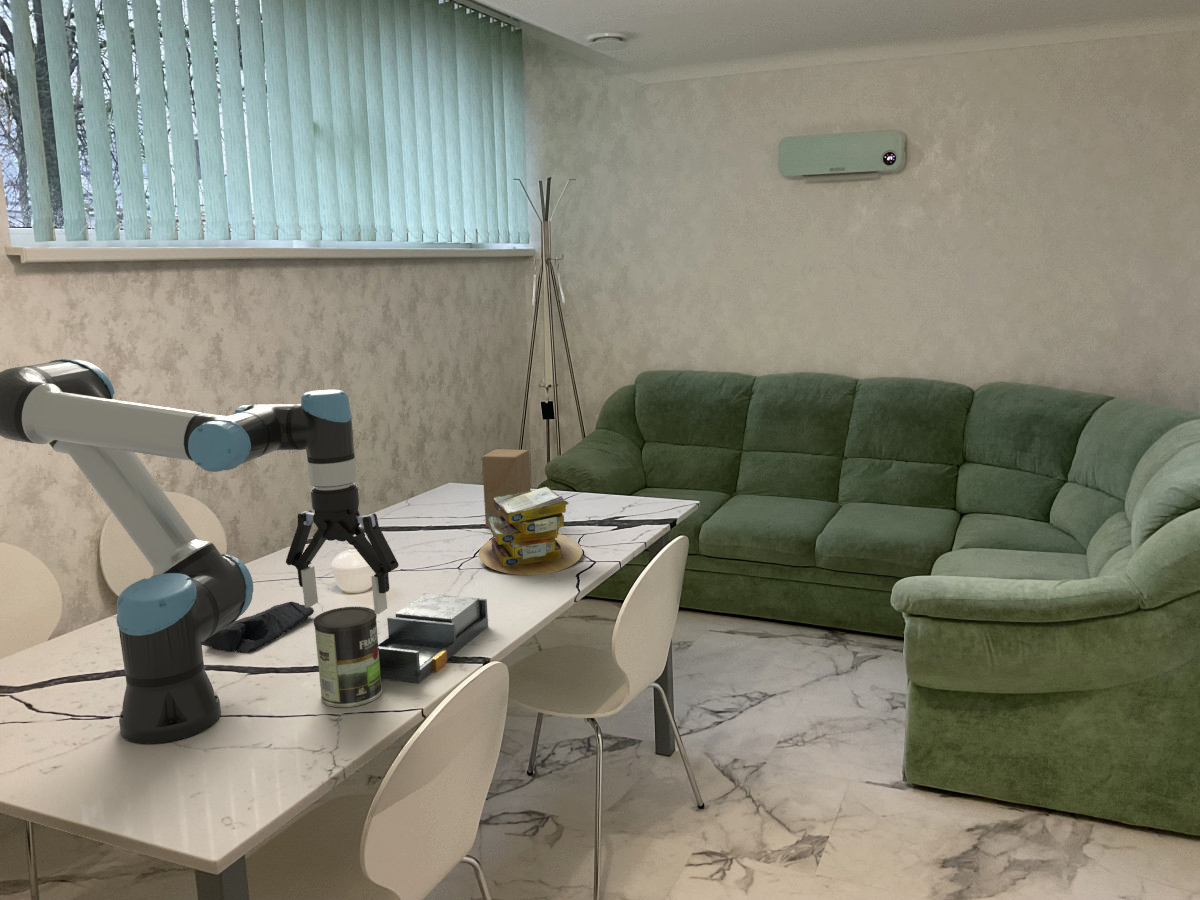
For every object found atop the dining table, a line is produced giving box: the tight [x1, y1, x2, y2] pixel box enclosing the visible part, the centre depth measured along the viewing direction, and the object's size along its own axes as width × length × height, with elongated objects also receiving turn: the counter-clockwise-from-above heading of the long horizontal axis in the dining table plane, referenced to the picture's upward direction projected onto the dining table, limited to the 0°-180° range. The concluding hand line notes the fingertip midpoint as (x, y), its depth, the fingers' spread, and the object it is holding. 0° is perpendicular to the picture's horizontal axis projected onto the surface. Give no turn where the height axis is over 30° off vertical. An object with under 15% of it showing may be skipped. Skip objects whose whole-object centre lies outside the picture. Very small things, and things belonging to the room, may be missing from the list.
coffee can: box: [313, 606, 383, 708], centre depth 170 cm, size 10×10×14 cm
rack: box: [378, 592, 489, 684], centre depth 189 cm, size 28×15×6 cm, turn 161°
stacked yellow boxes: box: [478, 486, 583, 576], centre depth 242 cm, size 25×25×17 cm
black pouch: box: [201, 601, 315, 653], centre depth 202 cm, size 15×22×5 cm
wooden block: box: [481, 448, 532, 529], centre depth 274 cm, size 10×10×20 cm
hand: (345, 608), depth 168 cm, fingers open, 13 cm apart
